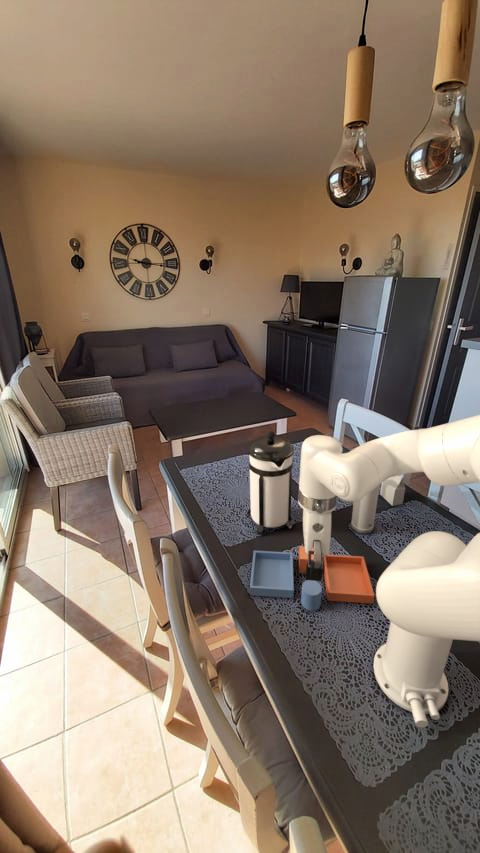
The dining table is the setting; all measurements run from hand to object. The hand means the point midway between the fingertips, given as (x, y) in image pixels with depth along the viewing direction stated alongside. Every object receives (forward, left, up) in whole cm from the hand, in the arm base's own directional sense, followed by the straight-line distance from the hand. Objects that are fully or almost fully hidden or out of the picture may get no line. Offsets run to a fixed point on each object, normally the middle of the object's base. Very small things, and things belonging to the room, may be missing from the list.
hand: (311, 561), depth 78 cm
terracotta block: (+11, 0, -12) cm, 16 cm away
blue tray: (+7, +9, -12) cm, 16 cm away
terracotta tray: (+7, -9, -12) cm, 16 cm away
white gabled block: (+43, -29, -12) cm, 53 cm away
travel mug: (+28, -17, -12) cm, 35 cm away
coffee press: (+30, +11, -12) cm, 34 cm away
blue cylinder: (0, 0, -12) cm, 12 cm away
